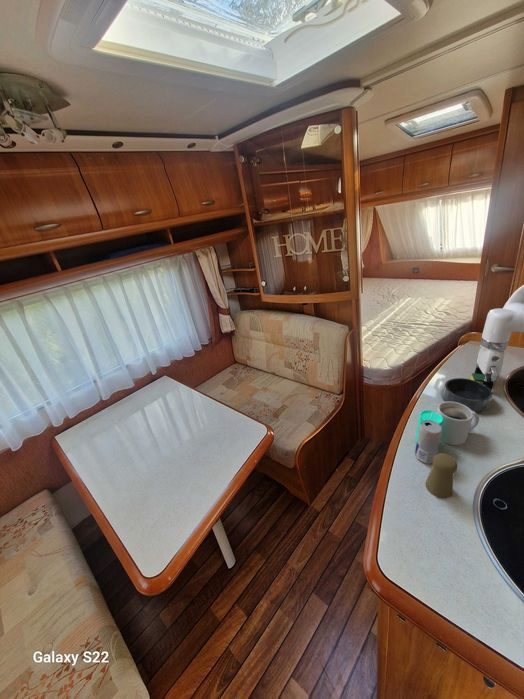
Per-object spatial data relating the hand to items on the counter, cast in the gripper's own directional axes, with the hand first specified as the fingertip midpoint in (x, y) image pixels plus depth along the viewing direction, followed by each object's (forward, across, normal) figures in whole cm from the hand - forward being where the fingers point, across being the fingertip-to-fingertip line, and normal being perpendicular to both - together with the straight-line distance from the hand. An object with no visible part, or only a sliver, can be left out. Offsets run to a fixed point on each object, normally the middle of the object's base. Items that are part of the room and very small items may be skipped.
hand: (482, 382), depth 105 cm
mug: (+1, -31, +15) cm, 34 cm away
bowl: (+1, -12, +8) cm, 15 cm away
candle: (+1, -36, +23) cm, 43 cm away
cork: (+1, -52, +22) cm, 57 cm away
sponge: (+1, 0, 0) cm, 1 cm away
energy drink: (+1, -42, +24) cm, 48 cm away
